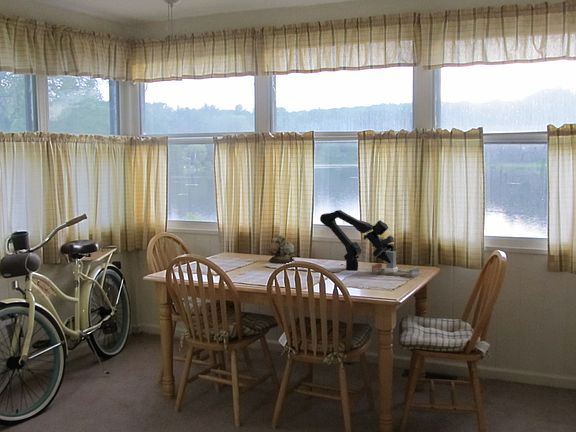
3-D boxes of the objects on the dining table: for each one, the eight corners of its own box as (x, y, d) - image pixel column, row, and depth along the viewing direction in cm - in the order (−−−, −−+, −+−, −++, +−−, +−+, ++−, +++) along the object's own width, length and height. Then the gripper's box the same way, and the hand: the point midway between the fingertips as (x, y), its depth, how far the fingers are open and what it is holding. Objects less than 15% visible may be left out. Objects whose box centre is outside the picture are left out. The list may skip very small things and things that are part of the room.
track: (371, 273, 333) (371, 265, 332) (378, 270, 341) (378, 263, 341) (412, 278, 320) (412, 269, 320) (418, 275, 328) (419, 267, 328)
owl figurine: (264, 263, 366) (264, 235, 365) (270, 260, 378) (270, 233, 376) (292, 264, 361) (292, 236, 360) (298, 261, 372) (298, 234, 371)
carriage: (384, 271, 331) (384, 252, 330) (388, 270, 336) (388, 250, 335) (393, 272, 328) (394, 252, 327) (397, 271, 333) (398, 251, 332)
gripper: (378, 232, 324) (397, 254, 319) (391, 229, 340) (409, 250, 335) (365, 246, 329) (383, 267, 324) (378, 242, 345) (396, 262, 340)
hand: (393, 261), depth 330 cm, fingers open, 9 cm apart
